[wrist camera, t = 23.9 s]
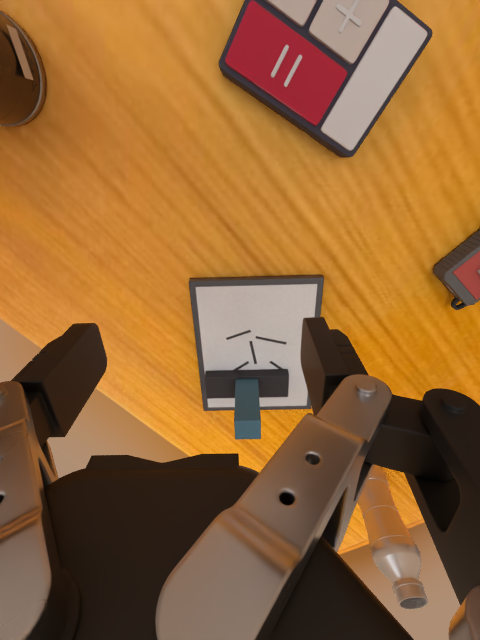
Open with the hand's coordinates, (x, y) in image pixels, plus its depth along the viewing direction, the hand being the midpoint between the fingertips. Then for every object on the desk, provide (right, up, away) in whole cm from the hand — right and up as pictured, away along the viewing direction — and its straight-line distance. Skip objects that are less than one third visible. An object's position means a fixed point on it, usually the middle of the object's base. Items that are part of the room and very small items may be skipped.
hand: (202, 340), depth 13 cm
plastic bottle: (+24, -26, +46) cm, 58 cm away
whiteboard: (+4, -3, +34) cm, 34 cm away
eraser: (+3, -8, +35) cm, 36 cm away
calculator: (+9, +26, +18) cm, 33 cm away
